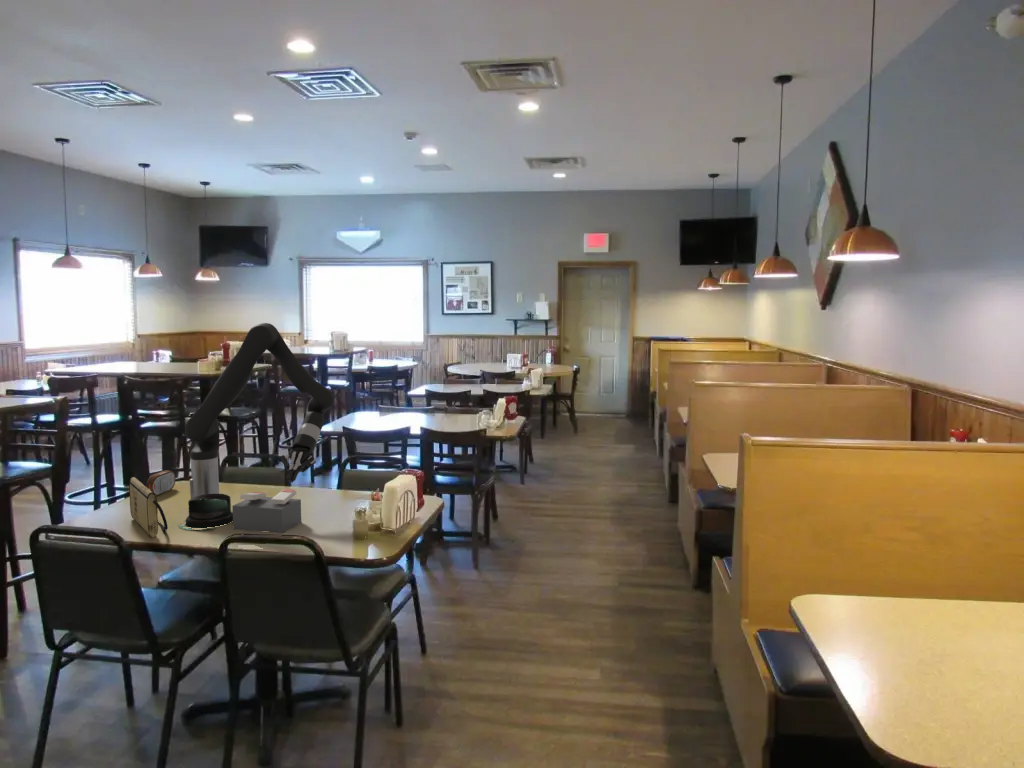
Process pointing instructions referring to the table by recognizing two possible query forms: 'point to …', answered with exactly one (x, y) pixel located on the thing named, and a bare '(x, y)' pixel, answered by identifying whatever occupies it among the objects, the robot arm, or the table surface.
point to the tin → (161, 482)
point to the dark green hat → (209, 511)
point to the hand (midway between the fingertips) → (289, 481)
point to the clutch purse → (145, 507)
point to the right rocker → (283, 496)
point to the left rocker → (253, 496)
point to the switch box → (266, 515)
